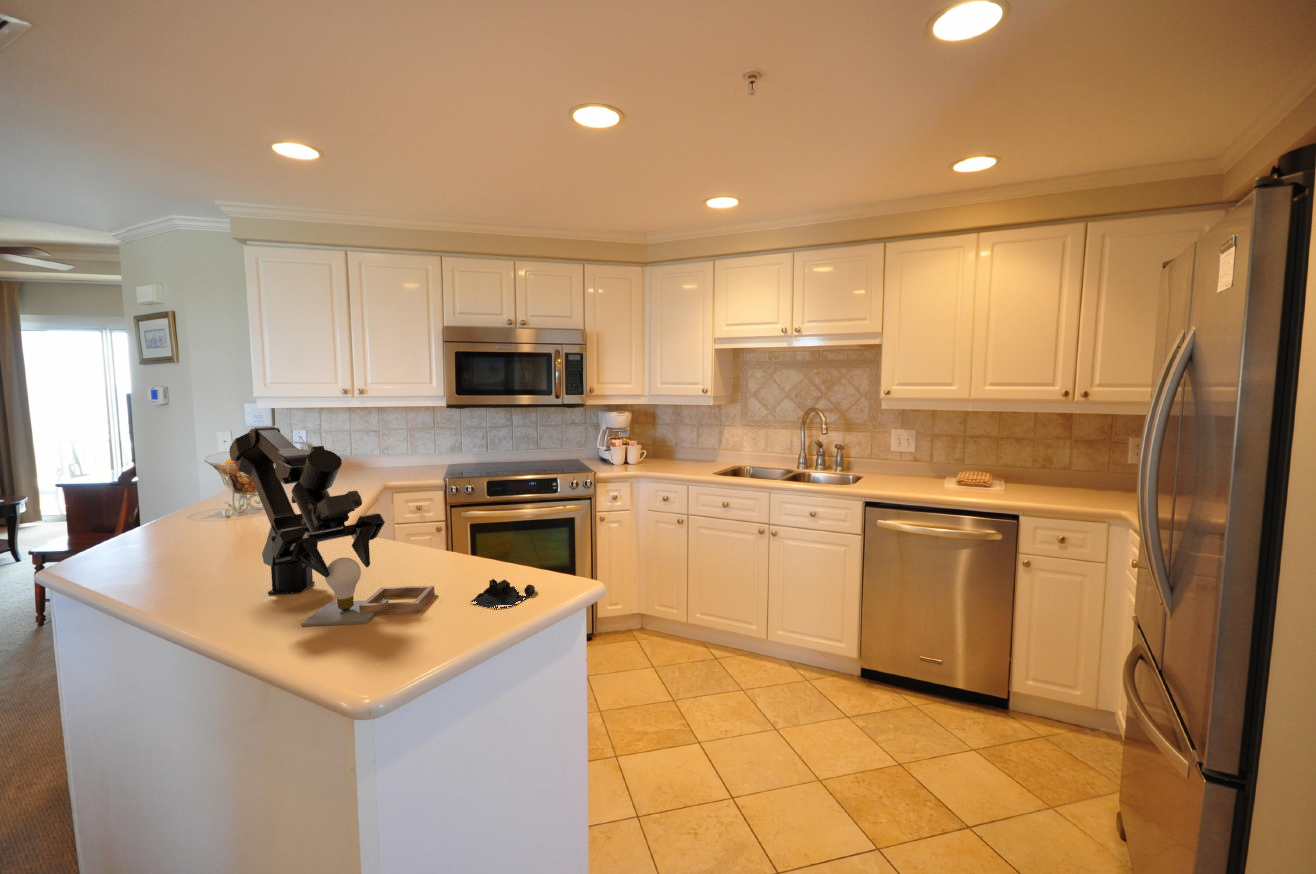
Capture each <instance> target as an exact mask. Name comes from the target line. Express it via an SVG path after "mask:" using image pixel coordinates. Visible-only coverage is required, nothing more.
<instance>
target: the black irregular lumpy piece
mask: <svg viewBox="0 0 1316 874" xmlns="http://www.w3.org/2000/svg"><path fill="white" fill-rule="evenodd" d="M488 581H489V585H488V586H489V587H486V588H485V589H484V591H483V592H480V593H478V594H477V596H475V598H473V599H472V600H470V602H473V601H474V602H475V601H476V602H477V603H476V604H473V605H472V606H475V605H479V606H483V607H482V608H484V607H487V608H486V609H488V608H490V607H491V608H492V607H493V608H494V606H495V608H496V609H495V608H494V609H493V610H498V609H497V608H498V605H512V606H513V605H514V607H516V606H518V605H520V604H519V603H518V604H515V603H516V602H518V601H521V603H523V602H525V601H526V600H528V599H529V598H531V597H533V596H534V595H535V594H536V589H535V588H536V587H535V586H534V584H533V585H532V584H527V585H526V587H525V588H524V589H525V590H524V589H523V590H524V592H525V594H526V596H523V595H522V596H521V595H519V592H520V591H518V592H517V590H518V589H517V590H516V589H515V588H516V587H515V586H514V585H513V586H511V582H509V581H508V580H506V579H503V580H501V581H497V580H496V579H495V578H492V579H489V580H488ZM534 593H535V594H534ZM533 594H534V595H533ZM532 595H533V596H532ZM530 596H531V597H530ZM523 598H525V599H524V600H525V601H524V600H523ZM527 598H528V599H527ZM522 601H523V602H522ZM496 605H497V607H496ZM515 605H516V606H515ZM479 606H478V607H479ZM512 606H508V607H510V608H513V607H512ZM500 608H505V609H508V608H507V606H506V607H505V606H504V607H500Z"/></svg>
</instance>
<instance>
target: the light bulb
mask: <svg viewBox="0 0 1316 874" xmlns="http://www.w3.org/2000/svg"><path fill="white" fill-rule="evenodd" d="M327 568H328V571H329V576H328V577H327V578H325V577H324V579H325V582H326V584H327V585H328V587H329V588H330V589H331V590H332V591H333V593H334V596H335V598H336V602H337V603H338V608H339V609H341V610H342V611H348V610H349V609H350V608H351V607H352V606H354V601H355V600H354V595H355V591H356V586H357V584H358V582H359V581H360V578H361V575H362V569H361V567H360V564H359V563H358V562H357V561H356V560H354V559H353V558H350V557H339V558H336V559H334V560H333V561H331V562H330V563H329V564H328V565H327Z"/></svg>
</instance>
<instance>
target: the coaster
mask: <svg viewBox="0 0 1316 874" xmlns="http://www.w3.org/2000/svg"><path fill="white" fill-rule="evenodd" d="M353 601H354V606H352V607H351V608H350V609H349V610H348V611H342V610H341V609H339V608H338V603H337V601H329V602H328V603H327V604H325V605H324V606H323V607H321V608H320V609H318V610H317V611H316V612H315V613H313V614H312V615H310V616H309V617H308V618H306V619H305V620H304V621H302V622H301V624H300V625H301V627H311V626H312V627H315V626H317V627H318V626H334V625H335V626H336V625H338V626H339V625H356V624H357V625H359V624H360V625H361V624H367V623H368V622H369V621H370V620H371V619H372V618H373V617H374V616H375V612H363V613H360V611H359V606H360V605H361V604H362V603H363V602H364V601H365V600H353ZM376 603H390V600H389V599H383V600H379V601H378V602H376Z"/></svg>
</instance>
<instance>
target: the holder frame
mask: <svg viewBox="0 0 1316 874" xmlns="http://www.w3.org/2000/svg"><path fill="white" fill-rule="evenodd" d="M435 594H436V593H435V585H433V584H432V585H415V586H414V585H412V586H411V585H410V586H387V587H385V586H384V587H383V586H382V587H380V588H378V590H376V591H375V592H374V593H373V594H372V595H370V596H369V597H368V598H367V599H365V600H363V601H364V602H363V603H362V604H361V605H360V606H359V611H360V613H363V612H375V615H377V616H378V615H398V614H399V615H400V614H401V615H402V614H418V613H420V612H421V610H422V609H423V608H424V607H425V606H426V605H427V604H428V602H429V601H430V600H431V599H432V598H433V597H434V596H435ZM405 597H406V598H409V597H410V598H411V597H417V598H416V599H415V600H414V601H404V602H402V601H399V602H388V603H376V602H378V601H379V600H385V598H388V599H389V598H405ZM375 615H374V616H375Z"/></svg>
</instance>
